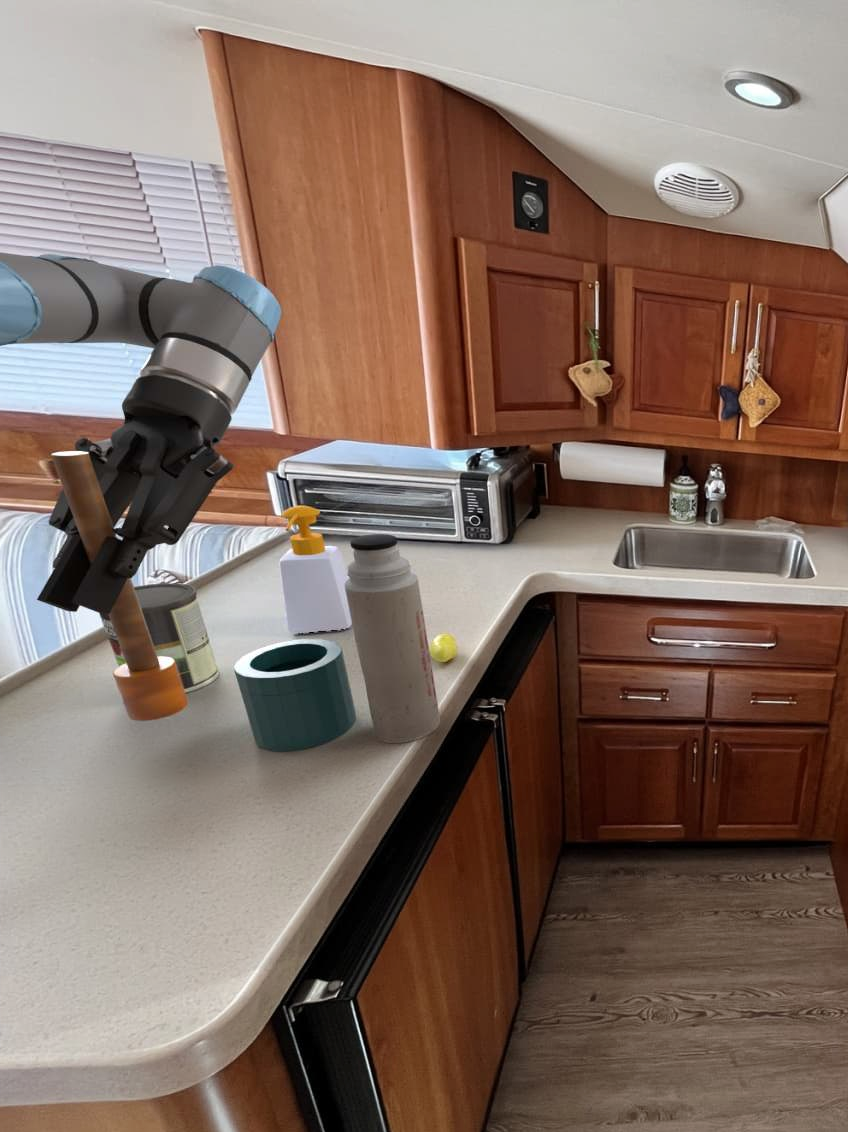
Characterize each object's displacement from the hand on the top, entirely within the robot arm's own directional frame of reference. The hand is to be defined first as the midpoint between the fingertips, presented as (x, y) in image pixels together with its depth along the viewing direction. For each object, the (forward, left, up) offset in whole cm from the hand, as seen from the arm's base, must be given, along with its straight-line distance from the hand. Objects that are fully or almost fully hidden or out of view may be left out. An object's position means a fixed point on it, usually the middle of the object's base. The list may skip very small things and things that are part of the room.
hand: (74, 606), depth 56 cm
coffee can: (-8, +42, -28) cm, 51 cm away
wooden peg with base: (+2, +3, -13) cm, 14 cm away
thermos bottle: (+22, +16, -28) cm, 39 cm away
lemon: (+28, +36, -28) cm, 54 cm away
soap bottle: (+9, +56, -28) cm, 63 cm away
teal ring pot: (+10, +21, -28) cm, 36 cm away
